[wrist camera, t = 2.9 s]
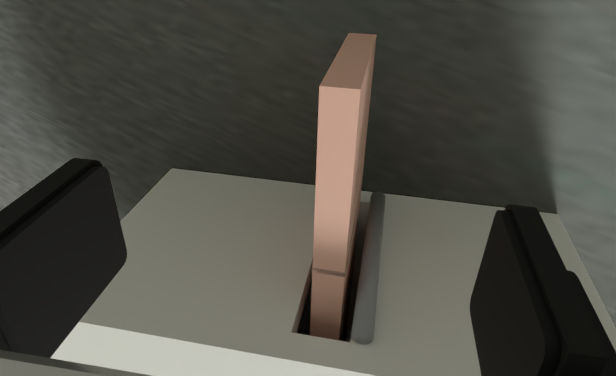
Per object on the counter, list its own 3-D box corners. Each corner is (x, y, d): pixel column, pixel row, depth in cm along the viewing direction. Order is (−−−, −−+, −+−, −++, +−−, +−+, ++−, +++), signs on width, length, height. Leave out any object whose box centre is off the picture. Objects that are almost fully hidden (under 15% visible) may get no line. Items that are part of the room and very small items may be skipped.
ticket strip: (348, 32, 19) (318, 85, 13) (377, 34, 19) (361, 89, 13) (328, 324, 29) (305, 439, 22) (347, 328, 28) (330, 444, 22)
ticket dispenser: (170, 156, 27) (24, 297, 17) (562, 201, 24) (678, 412, 13) (193, 309, 33) (98, 478, 23) (502, 362, 30) (549, 585, 20)
